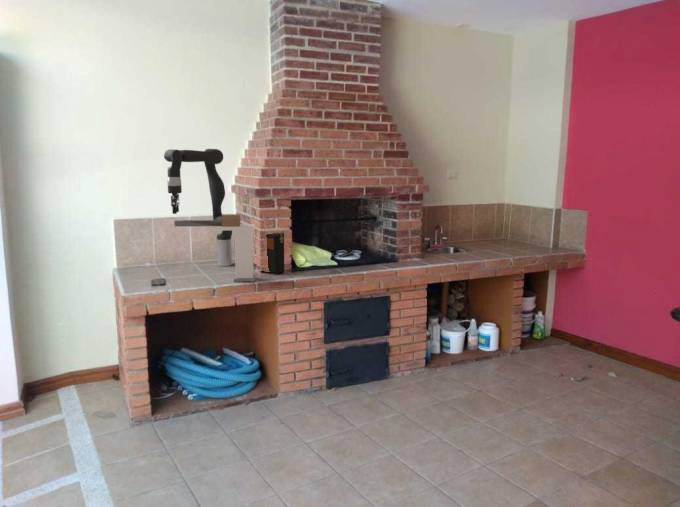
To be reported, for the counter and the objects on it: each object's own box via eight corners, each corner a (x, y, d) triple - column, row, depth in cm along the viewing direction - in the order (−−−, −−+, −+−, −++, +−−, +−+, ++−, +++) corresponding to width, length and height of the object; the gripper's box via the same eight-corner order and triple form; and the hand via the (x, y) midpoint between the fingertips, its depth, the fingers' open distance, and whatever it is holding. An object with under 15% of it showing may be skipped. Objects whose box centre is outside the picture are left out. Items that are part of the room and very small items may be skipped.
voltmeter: (286, 272, 336) (285, 232, 331) (277, 275, 329) (277, 234, 324) (266, 269, 344) (265, 230, 339) (257, 272, 336) (256, 232, 332)
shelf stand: (213, 278, 319) (212, 224, 312) (255, 277, 322) (254, 224, 316) (212, 282, 309) (210, 227, 303) (255, 281, 312) (254, 226, 306)
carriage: (176, 225, 308) (175, 214, 307) (240, 224, 313) (240, 214, 312) (174, 226, 301) (173, 216, 300) (239, 226, 306) (239, 215, 305)
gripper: (169, 183, 318) (171, 211, 321) (165, 185, 304) (167, 214, 308) (182, 183, 319) (184, 211, 322) (179, 185, 305) (180, 214, 309)
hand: (175, 212), depth 315 cm, fingers open, 8 cm apart
